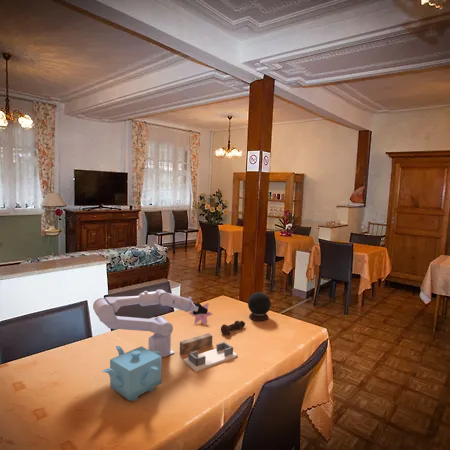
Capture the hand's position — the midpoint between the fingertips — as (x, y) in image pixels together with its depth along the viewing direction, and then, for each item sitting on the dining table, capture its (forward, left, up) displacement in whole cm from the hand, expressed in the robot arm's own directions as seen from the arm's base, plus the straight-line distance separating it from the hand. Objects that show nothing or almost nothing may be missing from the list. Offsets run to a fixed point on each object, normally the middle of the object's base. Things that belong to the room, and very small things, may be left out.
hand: (202, 309), depth 165 cm
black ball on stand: (+45, +8, -17) cm, 49 cm away
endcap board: (-5, -15, -17) cm, 23 cm away
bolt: (+22, +2, -17) cm, 28 cm away
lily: (+14, +22, -17) cm, 31 cm away
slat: (-5, -3, -17) cm, 18 cm away
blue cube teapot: (-42, -18, -17) cm, 49 cm away
